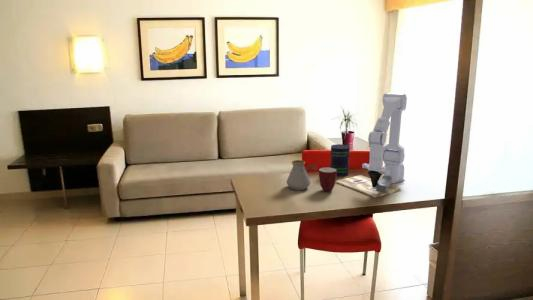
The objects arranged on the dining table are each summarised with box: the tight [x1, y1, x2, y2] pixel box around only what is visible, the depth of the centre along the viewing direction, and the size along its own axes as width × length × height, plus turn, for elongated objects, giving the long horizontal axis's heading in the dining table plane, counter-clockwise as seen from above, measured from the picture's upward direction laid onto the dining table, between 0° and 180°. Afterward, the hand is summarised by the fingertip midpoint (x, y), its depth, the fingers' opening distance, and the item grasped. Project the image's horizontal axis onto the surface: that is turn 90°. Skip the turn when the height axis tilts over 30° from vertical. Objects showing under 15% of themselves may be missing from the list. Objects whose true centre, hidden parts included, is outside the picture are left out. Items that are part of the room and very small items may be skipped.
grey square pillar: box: [376, 174, 393, 192], centre depth 180 cm, size 17×4×4 cm, turn 153°
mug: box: [318, 167, 337, 193], centre depth 181 cm, size 11×8×10 cm
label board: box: [335, 174, 402, 199], centre depth 188 cm, size 17×26×1 cm, turn 31°
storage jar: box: [329, 143, 351, 177], centre depth 207 cm, size 10×10×15 cm
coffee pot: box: [286, 159, 319, 191], centre depth 182 cm, size 21×12×15 cm, turn 24°
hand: (374, 186), depth 177 cm, fingers closed
